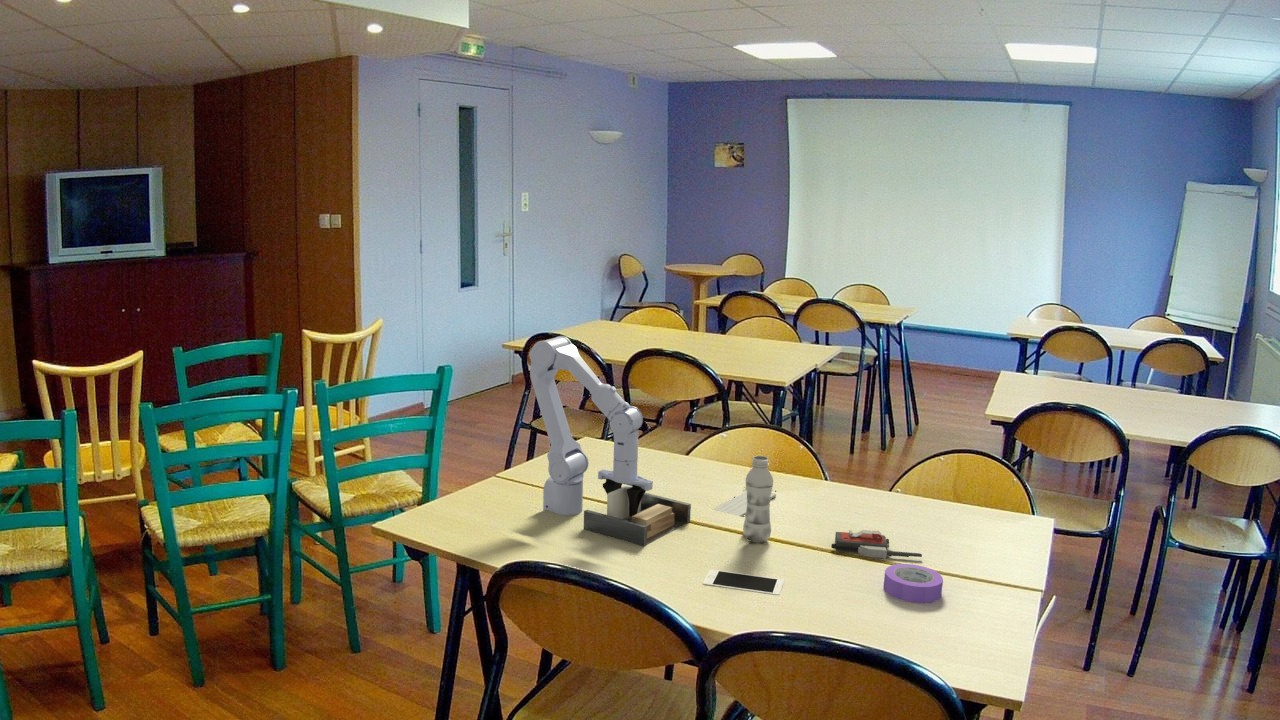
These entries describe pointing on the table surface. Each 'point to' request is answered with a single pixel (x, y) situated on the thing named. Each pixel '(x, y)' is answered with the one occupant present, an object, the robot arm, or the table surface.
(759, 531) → the plastic bottle
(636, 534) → the rack
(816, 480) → the table surface
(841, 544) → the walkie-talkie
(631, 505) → the robot arm
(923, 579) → the masking tape
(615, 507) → the white block
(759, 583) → the cell phone
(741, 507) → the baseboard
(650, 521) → the offcut stack
